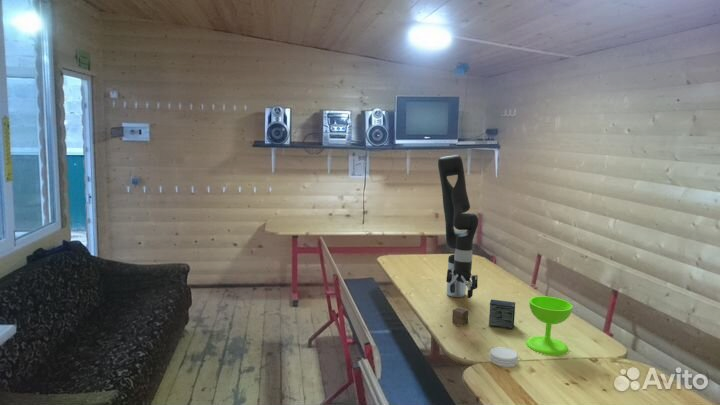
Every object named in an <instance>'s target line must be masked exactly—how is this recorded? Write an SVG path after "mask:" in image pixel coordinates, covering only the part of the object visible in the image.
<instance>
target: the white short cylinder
mask: <svg viewBox="0 0 720 405" xmlns="http://www.w3.org/2000/svg"><path fill="white" fill-rule="evenodd" d="M518 358H519V355H518V352H516V351H515V350H514V349H511V348H508V347H503V346H502V347H501V346H498V347H497V346H496V347H493V348H492V349H491V350H490V351H489V360H490V362H491V363H492V364H494V365H495V364H496V366H498V367H501V366H502V368H513V367H516V366H517V365H518V360H519V359H518Z"/></svg>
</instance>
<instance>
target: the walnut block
mask: <svg viewBox="0 0 720 405" xmlns="http://www.w3.org/2000/svg"><path fill="white" fill-rule="evenodd" d="M469 312H470V311H469V309H466V308H463V307H460V306H458V307H456V308H453V309H452V315H451V316H452V318H451V319H452V320H451V323H452V324H455V325H457V324H458V326H461V327H463V326H464V325H467V324H468V323H469V314H470V313H469Z"/></svg>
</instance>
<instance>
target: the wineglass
mask: <svg viewBox="0 0 720 405" xmlns="http://www.w3.org/2000/svg"><path fill="white" fill-rule="evenodd" d="M528 302H529V303H528V304H529V309H530V311H531V313H532V315H533V316H534V317H535V318H536V319H537V320H538V321H540V322H542V323H544V324H546V325H545V335H544V336H538V335H537V336H532V337H529V338H528V339H527V340H526V341H525V345H527V346H526V347H527V348H528V349H529V348H530V349H529V350H531V351H532V350H533V351H532V352H534V351H535V353H537V352H539V353H538V354H540V353H542V354H541V355H544V354H545V356H549V355H550V356H551V357H560V356H559V355H562V356H564V355H563V354H565V355H567V354H568V353H569V351H568V350H569V347H568V346H567V345H566V343H564V342H562V341H561V340H559V339H556V338H553V337H551V334H552V333H551V332H552V325H558V324H561V323H563V322H565V321H566V320H567V319H569V317H570V315H571V314H572V312H573V307H574V306H573V304H572V303H570V302H569V301H568V300H565V299H562V298H559V297H553V296H546V295H545V296H543V295H540V296H533V297H531V298H529V300H528ZM567 352H568V353H567ZM566 353H567V354H566Z"/></svg>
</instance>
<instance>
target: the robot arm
mask: <svg viewBox="0 0 720 405" xmlns="http://www.w3.org/2000/svg"><path fill="white" fill-rule="evenodd" d="M437 168H438V173H439V178H440V186H441V193H442V206H443V212H444V213H443V214H444V219H445V220H444V221H445V242H446V247H448V248H449V249H452V250H453V249H454V250H455V251H454V254H453V253H452V254H450V255H448V259H447V260H448V263H447V271H446V272H447V273H446V278H445V279H446V295H447V296H448V297H452V298H463V297H465V295H466V289H467V296H466V297H467V299H470V298H472V297H473V296H474V295H473V294H474V293H473V292H474V290H476V289H478V281H479V280H478V279H479V278H478V274H472V273H471V272H472V268H473V267H472V265H473V243H474V241H473V240H474V237H475V235H476V232H477V229H478V226H479V217H478V215H477V214H475V213H467V212H469V211H470V209H471V204H470V200H469V197H468V192H467V186H466V185H467V184H466V175H465V168H464V163H463V159H462V157H461V155H459V154H453V155H446V156H442V157H439V158H438V161H437ZM450 176H451V177H453V176H457V179H456V182H455V185H454V187H453V185H452V184H451V183H450V181H449V179H448V177H450Z"/></svg>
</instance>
